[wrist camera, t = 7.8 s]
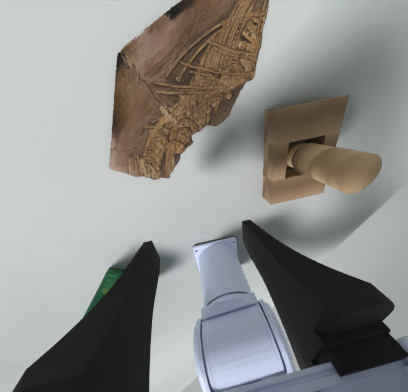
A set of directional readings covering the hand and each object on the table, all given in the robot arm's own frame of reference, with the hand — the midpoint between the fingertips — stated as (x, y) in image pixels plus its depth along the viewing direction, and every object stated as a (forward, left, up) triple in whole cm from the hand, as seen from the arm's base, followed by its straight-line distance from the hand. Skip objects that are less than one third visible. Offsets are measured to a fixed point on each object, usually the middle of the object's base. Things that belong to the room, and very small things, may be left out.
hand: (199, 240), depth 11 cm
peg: (+2, -15, -10) cm, 18 cm away
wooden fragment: (+12, -2, -11) cm, 16 cm away
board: (+2, -15, -10) cm, 18 cm away
